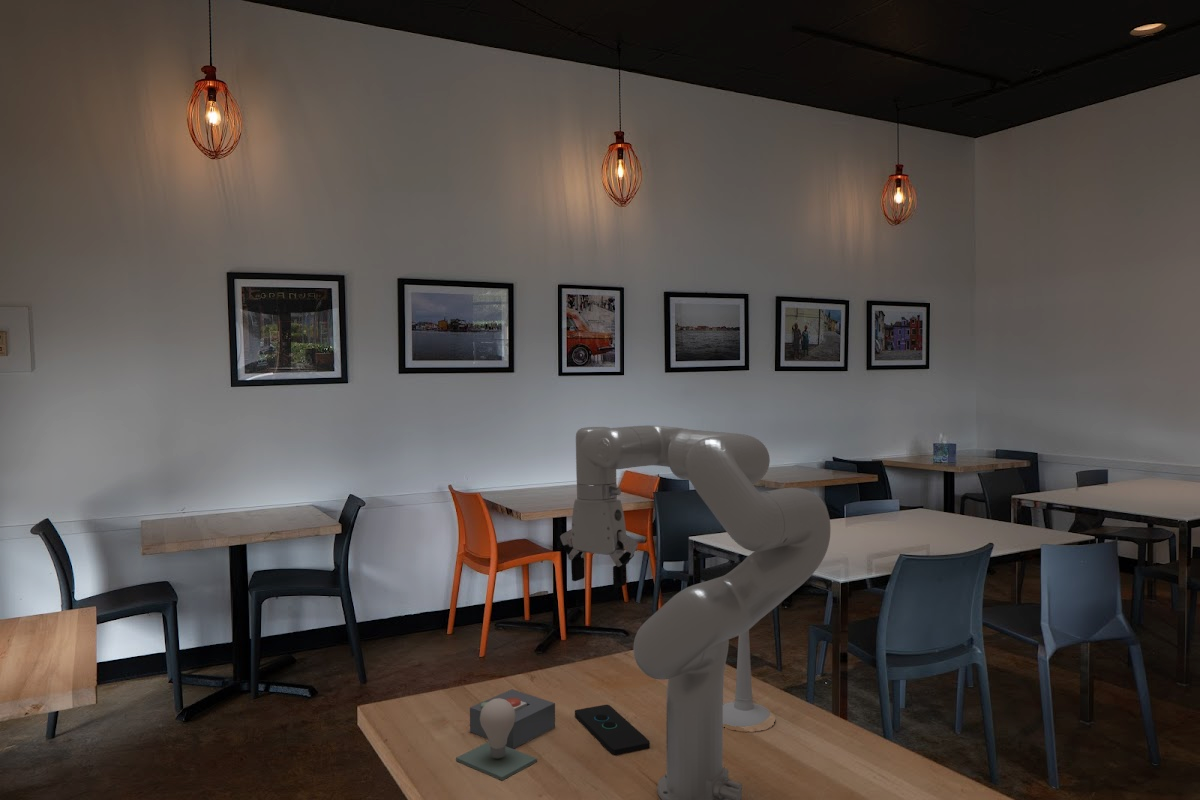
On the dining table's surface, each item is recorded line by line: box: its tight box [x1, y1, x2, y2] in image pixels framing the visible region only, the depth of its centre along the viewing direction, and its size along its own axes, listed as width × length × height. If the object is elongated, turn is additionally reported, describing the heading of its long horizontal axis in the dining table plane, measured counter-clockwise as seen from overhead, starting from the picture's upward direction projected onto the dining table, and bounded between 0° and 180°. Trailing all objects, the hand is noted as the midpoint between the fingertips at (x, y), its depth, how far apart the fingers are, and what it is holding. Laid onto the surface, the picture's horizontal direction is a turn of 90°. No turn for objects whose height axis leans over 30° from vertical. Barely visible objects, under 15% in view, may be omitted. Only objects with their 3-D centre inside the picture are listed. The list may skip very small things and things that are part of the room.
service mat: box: [455, 741, 538, 781], centre depth 154 cm, size 12×9×1 cm
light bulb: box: [480, 698, 516, 759], centre depth 153 cm, size 7×7×11 cm
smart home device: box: [574, 704, 651, 757], centre depth 166 cm, size 8×2×20 cm
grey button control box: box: [469, 688, 556, 750], centre depth 167 cm, size 12×12×6 cm
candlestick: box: [723, 629, 770, 727], centre depth 171 cm, size 13×13×30 cm
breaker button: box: [506, 698, 527, 711], centre depth 167 cm, size 4×4×4 cm
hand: (598, 582), depth 157 cm, fingers open, 9 cm apart
